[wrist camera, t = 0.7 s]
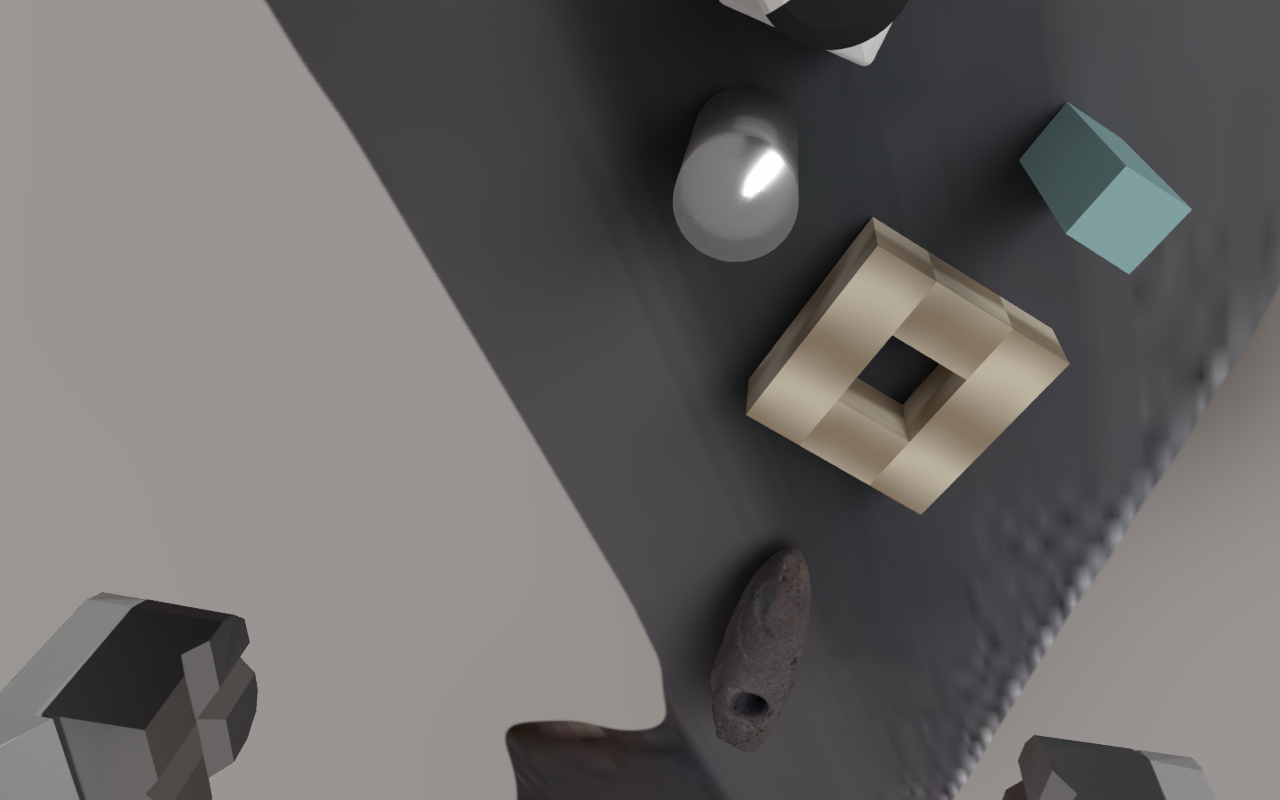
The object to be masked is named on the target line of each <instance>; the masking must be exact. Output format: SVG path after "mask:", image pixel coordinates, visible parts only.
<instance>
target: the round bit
mask: <svg viewBox="0 0 1280 800" xmlns="http://www.w3.org/2000/svg"><path fill="white" fill-rule="evenodd" d="M673 210H674V215H675V219H676V222H677V224H678V226H679V228H680V231H681V232H682V234H683V235H684V237H685V238H686V239H687V240H688V241H689V242H690V243H691V244H692V245H693V246H694V247H695V248H696V249H698V250H699V251H701V252H702V253H704V254H706V255H708V256H710V257H713V258H715V259H719V260H723V261H730V262H741V261H748V260H752V259H756V258H759V257H761V256H764V255H765V254H767V253H769V252H771V251H772V250H773V249H775V248H776V247H777V246H778V245H780V244H781V243H782V242H783V240H784V239H785V238H786V237H787V236H788V234H789V232H790V231H791V229H792V227H793V225H794V223H795V220H796V216H797V212H798V127H797V122H796V119H795V116H794V114H793V112H792V110H791V108H790V107H789V105H788V104H787V103H786V101H785V100H784V99H783V98H782V97H781V96H779V95H778V94H777V93H775V92H774V91H772V90H770V89H768V88H765V87H763V86H759V85H754V84H740V85H734V86H731V87H728V88H725V89H723V90H721V91H720V92H718V93H716V94H715V95H714V96H713V97H711V98H710V99H709V100H708V101H707V102H706V103H705V105H704V106H703V108H702V109H701V111H700V113H699V115H698V117H697V120H696V122H695V125H694V128H693V132H692V135H691V138H690V141H689V144H688V147H687V150H686V153H685V156H684V159H683V163H682V166H681V169H680V172H679V175H678V178H677V181H676V184H675V188H674V193H673Z"/></svg>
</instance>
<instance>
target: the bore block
mask: <svg viewBox="0 0 1280 800" xmlns="http://www.w3.org/2000/svg"><path fill="white" fill-rule="evenodd" d="M892 335H893V336H894V337H896V338H898V339H899V340H901V341H903V342H904V343H906V344H908V345H909V346H911V347H913V348H914V349H916V350H918V351H919V352H921V353H923V354H924V355H926V356H928V357H929V358H931V359H933V360H934V361H936V362H938V363H939V365H938V366H937V367H936V368H935V369H934V370H933V371H932V372H931V374H930V375H929V376H928V377H927V378H926V379H925V380H924V381H923V382H922V384H921V385H920V386H919V387H918V388H917V389H916V390H915V391H914V393H913V394H912V395H911V396H910V397H909V398H908V399H907V400H906V402H905V403H904V404H903V405H902V404H900V403H899V402H897V401H895V400H894V399H892V398H890V397H889V396H887V395H885V394H883V393H882V392H880V391H878V390H877V389H875V388H873V387H872V386H870V385H868V384H867V383H865V382H863V381H861V380H860V379H858V378H857V376H858V375H859V374H860V373H861V372H862V370H863V369H864V368H865V367H866V366H867V365H868V363H869V362H870V361H871V360H872V359H873V357H874V356H875V355H876V354H877V353H878V351H879V350H880V349H881V348H882V347H883V345H884V344H885V343H886V342H887V341H888V340H889V338H890V337H891V336H892ZM1068 365H1069V362H1068V360H1067V358H1066V356H1065V354H1064V352H1063V350H1062V348H1061V346H1060V344H1059V342H1058V340H1057V338H1056V336H1055V334H1054V332H1053V330H1052V329H1051V328H1050V327H1048V326H1047V325H1045V324H1043V323H1042V322H1040V321H1039V320H1037V319H1035V318H1034V317H1032V316H1031V315H1029V314H1027V313H1026V312H1024V311H1023V310H1021V309H1019V308H1018V307H1016V306H1015V305H1013V304H1011V303H1010V302H1008V301H1007V300H1005V299H1003V298H1002V297H1000V296H999V295H997V294H995V293H994V292H992V291H991V290H989V289H987V288H986V287H984V286H983V285H981V284H979V283H978V282H976V281H975V280H973V279H971V278H970V277H968V276H967V275H965V274H963V273H962V272H960V271H959V270H957V269H955V268H954V267H952V266H951V265H949V264H947V263H946V262H944V261H943V260H941V259H939V258H938V257H936V256H934V255H933V254H931V253H930V252H928V251H926V250H925V249H923V248H922V247H920V246H918V245H917V244H915V243H914V242H912V241H910V240H909V239H907V238H906V237H904V236H902V235H901V234H899V233H898V232H896V231H894V230H893V229H891V228H890V227H888V226H886V225H885V224H883V223H882V222H880V221H878V220H877V219H875V218H874V217H872V218H871V219H870V221H869V222H868V223H867V225H866V226H865V227H864V229H863V230H862V231H861V233H860V234H859V235H858V236H857V238H856V239H855V240H854V242H853V243H852V244H851V246H850V247H849V248H848V250H847V251H846V252H845V254H844V255H843V256H842V257H841V259H840V260H839V261H838V263H837V264H836V265H835V267H834V268H833V269H832V271H831V272H830V273H829V275H828V276H827V277H826V278H825V280H824V281H823V282H822V284H821V285H820V286H819V288H818V289H817V290H816V292H815V293H814V294H813V296H812V297H811V298H810V299H809V301H808V302H807V303H806V305H805V306H804V307H803V309H802V310H801V311H800V313H799V314H798V315H797V317H796V318H795V319H794V320H793V322H792V323H791V324H790V326H789V327H788V328H787V330H786V331H785V332H784V334H783V335H782V336H781V338H780V339H779V340H778V341H777V343H776V344H775V345H774V347H773V348H772V349H771V351H770V352H769V353H768V355H767V356H766V357H765V358H764V360H763V361H762V362H761V364H760V365H759V366H758V368H757V369H756V370H755V372H754V373H753V374H752V376H751V377H750V378H749V382H748V394H747V406H746V415H747V416H749V417H751V418H753V419H754V420H756V421H758V422H760V423H761V424H763V425H765V426H767V427H768V428H770V429H772V430H774V431H775V432H777V433H779V434H781V435H782V436H784V437H786V438H788V439H789V440H791V441H793V442H795V443H796V444H798V445H800V446H802V447H803V448H805V449H807V450H809V451H810V452H812V453H814V454H816V455H817V456H819V457H821V458H823V459H824V460H826V461H828V462H830V463H831V464H833V465H835V466H837V467H838V468H840V469H842V470H844V471H845V472H847V473H849V474H851V475H852V476H854V477H856V478H858V479H859V480H861V481H863V482H865V483H866V484H868V485H870V486H872V487H873V488H875V489H877V490H879V491H880V492H882V493H884V494H886V495H887V496H889V497H891V498H893V499H894V500H896V501H898V502H900V503H901V504H903V505H905V506H907V507H908V508H910V509H912V510H914V511H915V512H917V513H919V514H922V513H923V512H924V511H925V510H926V509H927V508H928V507H929V506H930V505H931V504H932V503H933V502H934V501H935V500H936V499H937V498H938V497H939V496H940V495H941V494H942V493H943V492H944V491H945V490H946V489H947V488H948V487H949V486H950V485H951V484H952V483H953V482H954V481H955V480H956V479H957V478H958V477H959V475H960V474H961V473H962V472H963V471H964V470H965V469H966V468H967V467H968V466H969V465H970V464H971V463H972V462H973V461H974V460H975V459H976V458H977V457H978V456H979V455H980V454H981V453H982V452H983V451H984V450H985V449H986V448H987V447H988V446H989V445H990V444H991V443H992V442H993V441H994V440H995V439H996V438H997V437H998V436H999V435H1000V434H1001V433H1002V432H1003V431H1004V430H1005V429H1006V428H1007V427H1008V426H1009V425H1010V424H1011V423H1012V422H1013V421H1014V420H1015V419H1016V418H1017V417H1018V416H1019V415H1020V414H1021V413H1022V412H1023V411H1024V410H1025V409H1026V408H1027V406H1028V405H1029V404H1030V403H1031V402H1032V401H1033V400H1034V399H1035V398H1036V397H1037V396H1038V395H1039V394H1040V393H1041V392H1042V391H1043V390H1044V389H1045V388H1046V387H1047V386H1048V385H1049V384H1050V383H1051V382H1052V381H1053V380H1054V379H1055V378H1056V377H1057V376H1058V375H1059V374H1060V373H1061V372H1062V371H1063V370H1064V369H1065V368H1066V367H1067V366H1068Z"/></svg>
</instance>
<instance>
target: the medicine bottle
mask: <svg viewBox="0 0 1280 800" xmlns="http://www.w3.org/2000/svg"><path fill="white" fill-rule="evenodd" d="M719 1H720V2H721V3H722V4H723V5H726V6H728V7H730V8H732V9H735V10H737V11H739V12H741V13H744V14H746V15H748V16H750V17H753V18H755V19H757V20H759V21H762V22H764V23H766V24H768V25H771V26H773V27H775V28H776V29H777V30H778V31H779V32H780V33H782V34H783V35H784V36H786V37H787V38H788V39H790V40H792V41H794V42H796V43H798V44H800V45H803V46H806V47H808V48H813V49H818V50H827V51H829V52H832V53H834V54H836V55H838V56H841V57H843V58H845V59H847V60H850V61H852V62H854V63H856V64H859V65H861V66H867V65H869V64H871V62H872V61H873V60H874V58H875V56H876V54H877V52H878V50H879V48H880V46H881V44H882V42H883V40H884V38H885V36H886V34H887V32H888V30H889V28H890V26H891V24H892V22H893V21H894V20H895V19H896V17H897V16H898V15H899V14H900V12H901V11H902V10H903V8H904V7H905V5H906V3H907V2H908V0H719Z"/></svg>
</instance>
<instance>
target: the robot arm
mask: <svg viewBox="0 0 1280 800" xmlns="http://www.w3.org/2000/svg"><path fill="white" fill-rule="evenodd" d="M249 643H250V642H249V637H248V633H247V628H246V624H245V619H243V618H241V617H238V616H236V615H232V614H226V613H221V612H215V611H209V610H204V609H198V608H193V607H186V606H182V605H176V604H170V603H164V602H159V601H154V600H148V599H147V600H144V599H138V598H132V597H126V596H120V595H115V594H109V593H104V592H102V593H100V594H98V595H96V596H93V597H91V598H89V599H87V600H86V601H85V602H84V603H83V604H82V605H81V606H80V607H79V608H78V609H77V610H76V612H75V613H74V614H73V615H72V616H71V617H70V618H69V619H68V620H67V621H66V622H65V623H64V624H63V625H62V627H61V628H60V629H59V630H58V631H57V632H56V633H55V634H54V635H53V636H52V637H51V638H50V640H49V641H48V642H47V643H46V644H45V645H44V646H43V647H42V648H41V649H40V651H38V653H37V654H36V655H35V656H34V657H33V658H32V659H31V660H30V661H29V662H28V663H27V664H26V666H25V667H24V668H23V669H22V670H21V671H20V672H19V673H18V674H17V675H16V676H15V677H14V678H13V679H12V681H11V682H10V683H9V684H8V685H7V686H6V687H5V688H4V689H3V690H2V691H1V692H0V800H212V794H211V789H210V782H209V777H211V776H212V775H214V774H215V773H217V772H219V771H220V770H222V769H224V768H225V767H227V766H228V765H230V764H232V763H233V762H234V761H235V759H236V757H237V756H238V754H239V752H240V751H241V749H242V747H243V745H244V744H245V742H246V740H247V738H248V735H249V732H250V729H251V725H252V722H253V719H254V716H255V713H256V706H257V692H258V689H257V682H256V676H255V672H254V671H253V670H252V669H251V668H250V667H249V666H248V665H247V664H246V663H245V662H244V661H243V660H242V659H241V657H240V656H241V655H242V653H243V652H244V650H245V649H246V647H247V646H248V644H249ZM1018 762H1019V766H1020V771H1021V774H1022V779H1023V780H1022V781H1020V782H1019V783H1017V784H1015V785H1014V786H1012V787H1010V788H1008V789H1007V790H1006V791H1005V794H1004V797H1003V799H1002V800H1217V799H1216V796H1215V794H1214V792H1213V790H1212V788H1211V786H1210V783H1209V782H1208V779H1207V777H1206V775H1205V773H1204V771H1203V768H1202V767H1201V766H1200V765H1199V764H1198V763H1197V762H1196V761H1195V760H1194V759H1193V758H1190V757H1183V756H1176V755H1169V754H1162V753H1155V752H1148V751H1141V750H1138V751H1135V750H1133V749H1129V748H1122V747H1115V746H1108V745H1101V744H1093V743H1086V742H1079V741H1072V740H1065V739H1058V738H1051V737H1044V736H1037V735H1034V736H1033V737H1031V738H1030V739H1029V740H1028V741H1027V742H1026V743H1025V745H1024V747H1023V750H1022V752H1021V754H1020V757H1019V759H1018Z"/></svg>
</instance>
